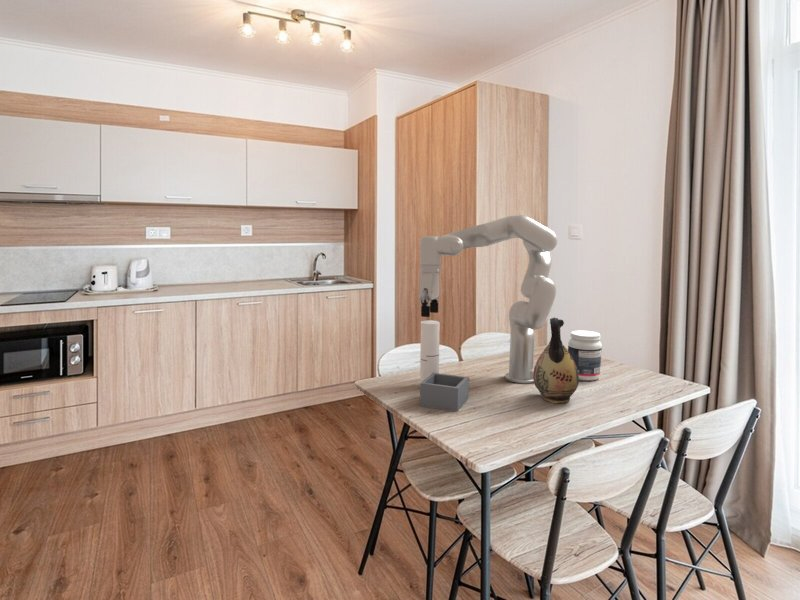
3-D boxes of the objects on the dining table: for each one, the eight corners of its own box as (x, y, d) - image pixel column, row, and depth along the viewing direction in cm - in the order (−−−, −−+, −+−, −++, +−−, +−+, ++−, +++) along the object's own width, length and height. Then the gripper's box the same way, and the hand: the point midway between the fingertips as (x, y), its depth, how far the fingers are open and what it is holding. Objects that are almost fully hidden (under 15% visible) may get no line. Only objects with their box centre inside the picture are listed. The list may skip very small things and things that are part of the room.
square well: (468, 398, 174) (468, 377, 173) (457, 411, 162) (458, 388, 161) (432, 393, 180) (433, 372, 179) (419, 405, 167) (420, 383, 166)
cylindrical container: (437, 389, 185) (438, 324, 181) (418, 388, 186) (419, 323, 183) (439, 383, 192) (440, 320, 188) (421, 382, 193) (422, 320, 189)
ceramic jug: (535, 389, 185) (538, 311, 180) (578, 395, 179) (583, 314, 174) (528, 404, 169) (532, 319, 165) (576, 411, 163) (581, 322, 159)
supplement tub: (564, 371, 208) (566, 329, 205) (595, 373, 206) (598, 330, 203) (569, 380, 195) (572, 335, 193) (603, 382, 193) (606, 337, 191)
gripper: (428, 267, 192) (428, 310, 194) (412, 270, 176) (412, 317, 178) (447, 268, 189) (446, 311, 191) (432, 271, 173) (431, 319, 175)
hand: (429, 314), depth 185 cm, fingers open, 9 cm apart
